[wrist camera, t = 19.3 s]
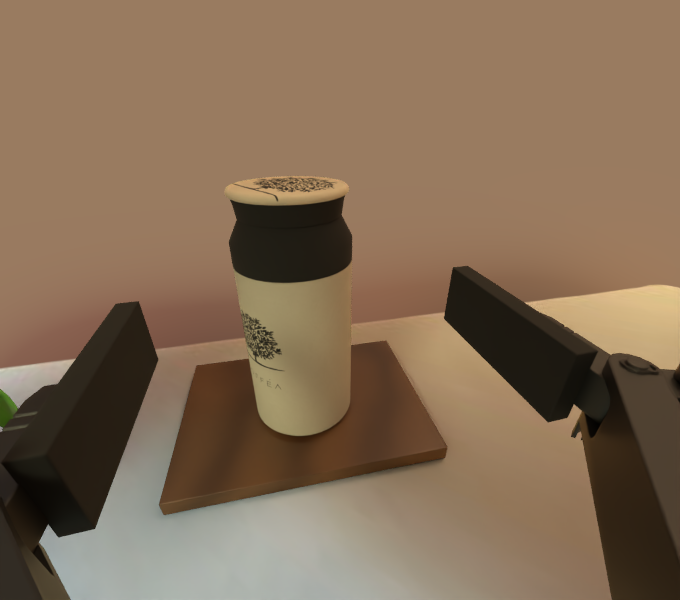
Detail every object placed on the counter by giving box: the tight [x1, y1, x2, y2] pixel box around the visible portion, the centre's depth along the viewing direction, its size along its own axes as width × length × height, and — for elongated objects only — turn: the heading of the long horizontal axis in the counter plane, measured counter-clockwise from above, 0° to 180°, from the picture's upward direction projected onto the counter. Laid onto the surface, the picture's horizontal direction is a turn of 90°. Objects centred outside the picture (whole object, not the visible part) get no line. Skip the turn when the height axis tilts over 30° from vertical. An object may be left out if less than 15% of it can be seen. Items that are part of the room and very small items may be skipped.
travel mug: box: [225, 176, 352, 436], centre depth 24 cm, size 8×8×18 cm
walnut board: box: [159, 341, 447, 515], centre depth 29 cm, size 20×14×1 cm
